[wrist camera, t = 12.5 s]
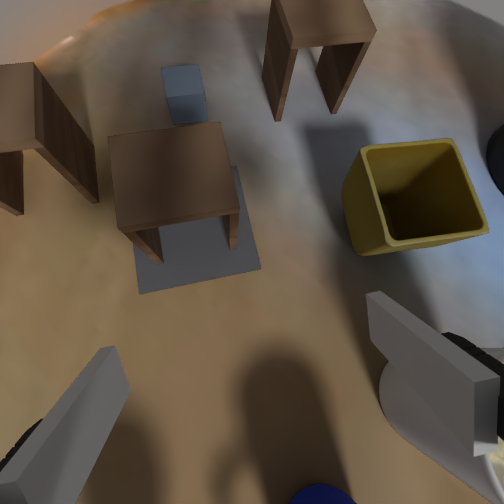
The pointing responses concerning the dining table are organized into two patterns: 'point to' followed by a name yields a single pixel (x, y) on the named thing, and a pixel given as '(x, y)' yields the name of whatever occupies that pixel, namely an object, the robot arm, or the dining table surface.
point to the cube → (185, 93)
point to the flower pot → (410, 197)
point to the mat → (198, 251)
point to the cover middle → (172, 182)
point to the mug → (321, 495)
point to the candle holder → (441, 435)
